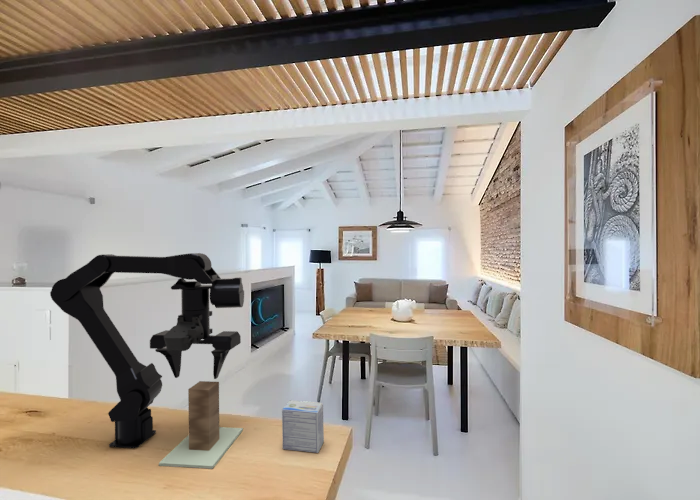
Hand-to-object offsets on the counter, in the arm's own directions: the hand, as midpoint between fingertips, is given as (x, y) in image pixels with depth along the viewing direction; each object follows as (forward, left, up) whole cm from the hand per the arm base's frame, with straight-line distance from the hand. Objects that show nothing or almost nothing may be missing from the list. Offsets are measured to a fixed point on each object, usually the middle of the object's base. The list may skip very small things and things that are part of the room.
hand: (196, 377), depth 78 cm
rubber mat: (+4, -4, -13) cm, 14 cm away
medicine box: (+25, -2, -13) cm, 28 cm away
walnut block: (+4, -4, -12) cm, 14 cm away
